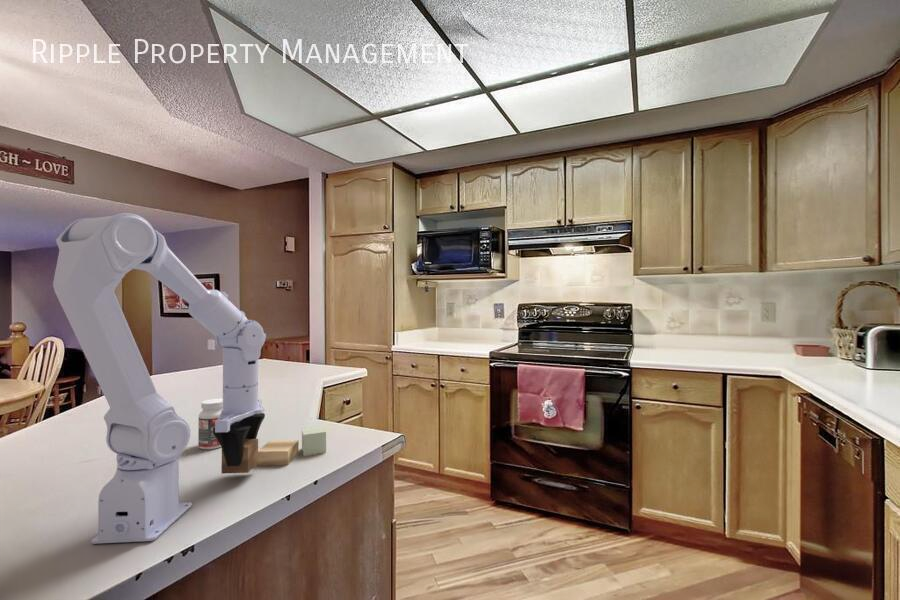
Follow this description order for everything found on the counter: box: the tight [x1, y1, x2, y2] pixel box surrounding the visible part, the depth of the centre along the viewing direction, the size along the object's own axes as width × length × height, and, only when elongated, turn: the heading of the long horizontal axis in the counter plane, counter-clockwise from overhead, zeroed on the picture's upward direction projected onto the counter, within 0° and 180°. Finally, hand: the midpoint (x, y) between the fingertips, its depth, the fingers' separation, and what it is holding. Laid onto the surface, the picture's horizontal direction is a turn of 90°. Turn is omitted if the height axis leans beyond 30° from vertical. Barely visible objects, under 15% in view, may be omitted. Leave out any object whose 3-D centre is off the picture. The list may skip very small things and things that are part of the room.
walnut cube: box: [221, 438, 259, 474], centre depth 73 cm, size 4×4×4 cm
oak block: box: [256, 439, 300, 466], centre depth 81 cm, size 6×6×3 cm
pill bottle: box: [197, 397, 223, 450], centre depth 89 cm, size 6×6×10 cm
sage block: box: [301, 425, 327, 457], centre depth 86 cm, size 4×4×4 cm
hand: (240, 459), depth 73 cm, fingers closed on walnut cube, 4 cm apart
